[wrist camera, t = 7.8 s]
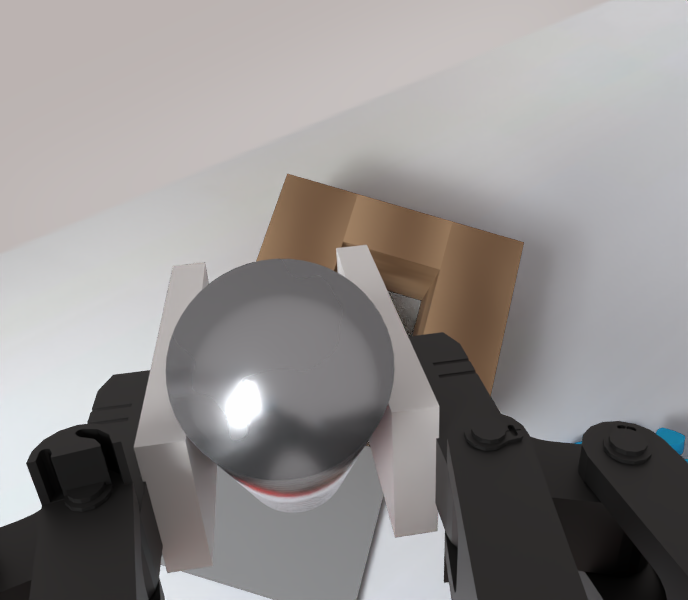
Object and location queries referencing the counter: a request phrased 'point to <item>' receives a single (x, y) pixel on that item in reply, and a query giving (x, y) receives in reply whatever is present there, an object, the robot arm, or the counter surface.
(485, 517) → the robot arm
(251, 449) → the peg
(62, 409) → the counter surface
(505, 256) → the hole block
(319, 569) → the mat
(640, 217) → the counter surface
